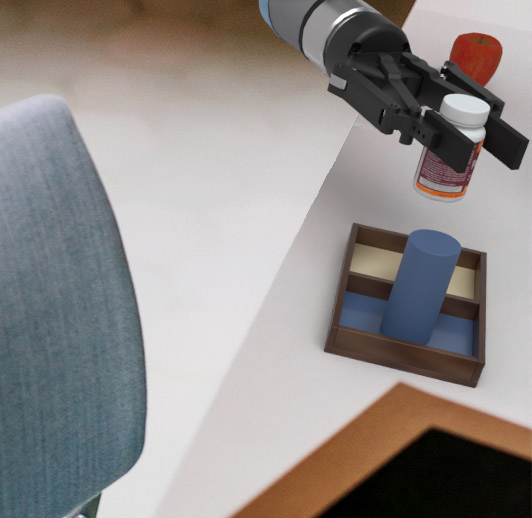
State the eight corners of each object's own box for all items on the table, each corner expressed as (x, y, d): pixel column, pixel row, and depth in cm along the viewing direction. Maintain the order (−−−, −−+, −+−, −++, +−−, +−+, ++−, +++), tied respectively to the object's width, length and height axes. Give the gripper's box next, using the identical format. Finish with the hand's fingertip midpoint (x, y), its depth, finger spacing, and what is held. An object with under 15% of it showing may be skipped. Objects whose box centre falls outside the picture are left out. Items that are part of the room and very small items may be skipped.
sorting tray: (478, 275, 116) (487, 252, 114) (475, 388, 100) (485, 363, 99) (346, 245, 118) (353, 222, 116) (323, 351, 102) (331, 326, 101)
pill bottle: (471, 205, 106) (503, 116, 100) (420, 202, 105) (449, 112, 100) (454, 180, 109) (484, 93, 104) (404, 177, 109) (432, 89, 103)
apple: (483, 108, 150) (503, 49, 145) (435, 95, 151) (453, 37, 147) (490, 91, 154) (510, 34, 150) (443, 79, 156) (461, 22, 151)
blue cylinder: (431, 325, 106) (462, 236, 100) (428, 351, 103) (461, 260, 97) (382, 313, 107) (410, 224, 101) (378, 338, 103) (407, 248, 98)
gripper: (422, 83, 121) (563, 191, 105) (267, 88, 116) (390, 203, 99) (445, 9, 117) (596, 110, 100) (284, 10, 111) (416, 118, 94)
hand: (493, 156), depth 100 cm, fingers closed on pill bottle, 5 cm apart
